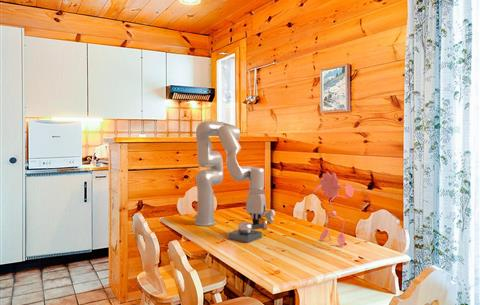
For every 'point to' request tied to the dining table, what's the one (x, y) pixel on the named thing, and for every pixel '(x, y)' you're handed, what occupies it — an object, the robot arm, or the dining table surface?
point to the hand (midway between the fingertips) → (255, 226)
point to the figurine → (331, 187)
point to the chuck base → (245, 236)
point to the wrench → (270, 215)
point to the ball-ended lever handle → (251, 226)
